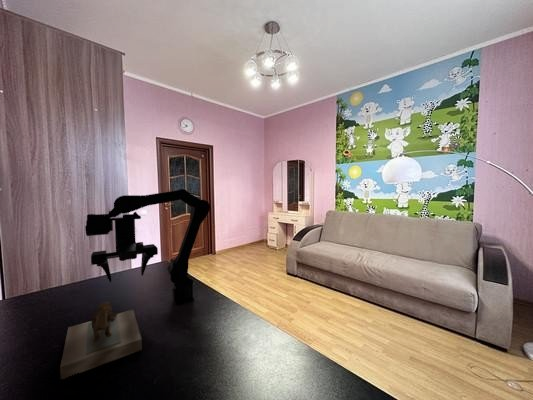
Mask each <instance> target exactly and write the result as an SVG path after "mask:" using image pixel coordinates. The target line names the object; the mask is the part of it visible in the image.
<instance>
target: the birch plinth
mask: <svg viewBox="0 0 533 400" xmlns="http://www.w3.org/2000/svg"><path fill="white" fill-rule="evenodd" d="M116 314H117V316H116V318H115V320H114V322H112V321H111V322H110V328H109V331H110V333H111V335H110V336H109V337H106V335H105V330H102V331H98V334H99V337H100V338H99V340H98V341H96V342H94V341H93V340H94V338H95V336H94V332H93V328H92V320H90V321H86V322H82V323H79V324H76V325H73V326H68V329H67V333H66V338H65V342H64V348H63V353H62V358H61V361H60V366H59V373H60V374H59V375H60V380H61V379H63V380H65V379H67V377H68V378H70V377H69V376H71V377H73V376H75V375H74V374H76V375H78V374H77V373H79V374H81V373H84V372H87V371H89V370H91V369H94V368H97V367H100V366H102V365H105V364H108V363H111V362H114V361H116V360H118V359H121V358H125V357H126V356H130V355H131V354H134V353H137V352H139V351H142V350H143V343H142V342H143V341H142V335H141V332H140V328H139V326H138V321H137V318H136V315H135V311H134V309H130V310H127V311H123V312H120V313H116ZM72 375H73V376H72Z"/></svg>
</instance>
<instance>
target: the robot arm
mask: <svg viewBox="0 0 533 400" xmlns="http://www.w3.org/2000/svg"><path fill="white" fill-rule="evenodd" d="M176 201H182V202H183V203H185V204H186V205H187V206H190V211H189V221H188V223H187V224H188V225H187V227H186V231H185V233H184V237H183V239H182V241H181V245H180V248H179V249H178V254H177V256H176V257H175V258H170V261H169V264H168V267H166V269H167V273H168V277H169V279H170V281H171V282H172V283H173V288H172V290H171V292H172V293H171V297H172V301H173V302H174V303H175V304H176V305H177V306H180V305H183V304H186V303H190V302H193V301H195V297H194V292H193V291H194V290H193V288H194V287H193V286H194V280H193V278H192V277H191V275H190V274H189V273H188V271H189V260H190V256H191V254H192V250H193V248H194V245H195V242H196V239H197V236H198V233H199V230H200V228H201V225H202V223H203V222H204V220H205V219H206V218H207V217H208V214H209V213H210V210H211V205H210V202H208V201H207V200H206V199H200V198H198V197H197V196H195V195H194V194H192V193H191V192H189V191H188V190H187V189H185V188H179V189H177V190H171V191H170V190H169V191H165V192H157V193H151V194H145V195H143V194H142V195H141V194H140V195H138V194H136V195H135V194H132V195H131V194H130V195H128V194H127V195H126V194H125V195H121V196H118V197H117V198H116V199H115V200H114V202H113V208H112V209H111V210H109V211H108V213H101V214H97V213H90V214H89V213H88V214H86V221H85V222H86V223H85V226H84V228H85V236H86V237H92V236H105V235H109V234H110V233H111V232H112V231H114V232H115V233H114V234H115V236H114V237H115V239H114V240H115V251H113V252H107V250H100V251H92V253H91V255H90V263H91V264H90V265H91V266H92V265H93V266H95V265H96V267H101V268H102V270H103V271H104V273H105V275H106V277H107V279H108V281H109V283H112V274H111V270H110V265H109V259H116V258H118V260H119V261H120V262H125V261H127V260H136V259H137V257H138V255H141V263H140V266H141V268H140V275H141V276H144V274H145V270H146V268H147V265H148V263H149V261H150V260H151V259H152V258H154V257H155V256H157V255H158V254H159V251H158V250H159V249H158V247H157V245H155V244H154V243H153V244H152V243H151V244H144V242H143V241H140V242H139V241H138V242H136V241H137V240H136V220H141V218H142V217H141V215H140V214H138V213H137V211H138V210H141V209H142V208H145V207H149V206H154V205H157V204H158V205H159V204H164V203H165V204H166V203H172V202H176ZM131 212H132V213H131ZM130 213H131V214H130ZM121 214H122V217H121V216H120V215H121ZM118 216H120V217H118ZM114 229H115V230H114Z"/></svg>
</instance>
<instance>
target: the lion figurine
mask: <svg viewBox="0 0 533 400" xmlns="http://www.w3.org/2000/svg"><path fill="white" fill-rule="evenodd" d="M117 314H118V313H116V312H113V308H112V305H111V303H110V302H107V301H105V302H103V303H101V304H99V306H98V308H97V310H96V311H95V312H94V314H93V316H92V318H91V321H92V328H93V332H94V336H95V338H94V340H93V341H94V342H96V341H98V340H99V338H100V337H99V334H98V331H102V330H105V335H106V337H109V336H110V335H111V333H110V331H109V328H110V322H111V321H112V322H114V320H115V318H116V316H117Z"/></svg>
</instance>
